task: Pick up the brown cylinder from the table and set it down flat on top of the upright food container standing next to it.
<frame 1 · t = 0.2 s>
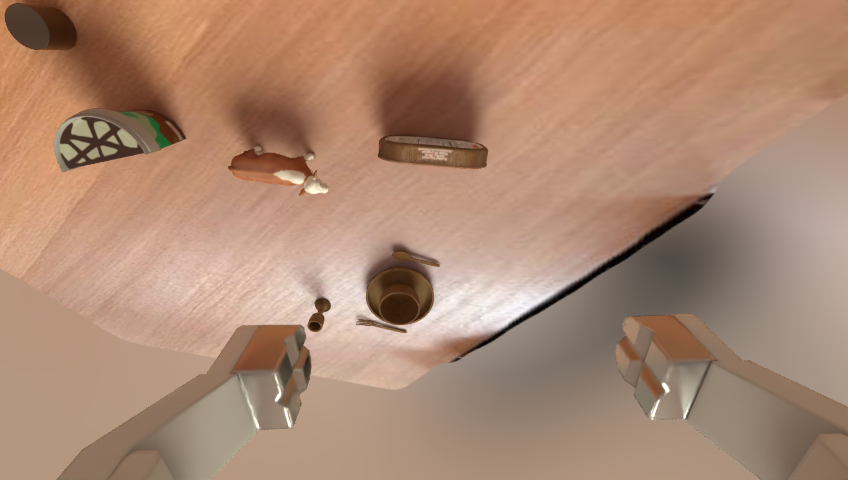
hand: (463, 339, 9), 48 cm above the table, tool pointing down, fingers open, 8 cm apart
food container: (146, 123, 53), on the table
place setting: (378, 287, 66), on the table
brown cylinder: (56, 29, 47), on the table
tin: (432, 144, 55), on the table
bull figurine: (293, 161, 56), on the table
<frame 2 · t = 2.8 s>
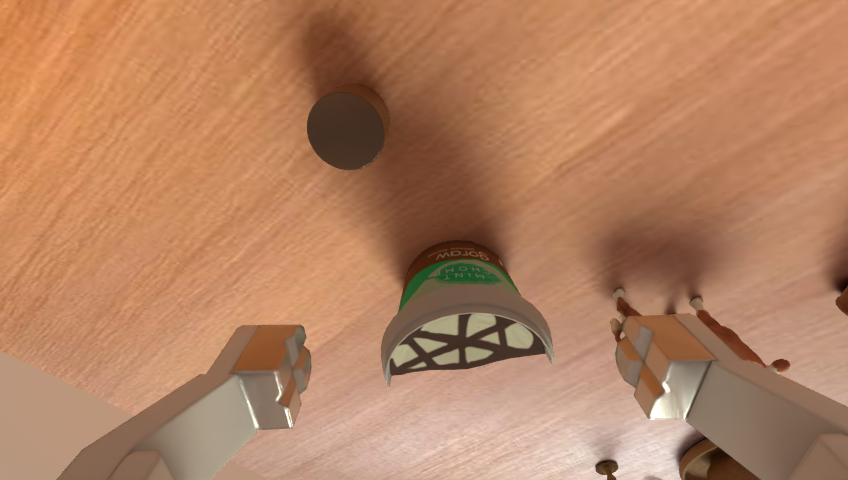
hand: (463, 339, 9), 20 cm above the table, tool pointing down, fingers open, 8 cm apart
food container: (451, 258, 32), on the table
place setting: (694, 448, 46), on the table
brown cylinder: (355, 119, 26), on the table
bull figurine: (659, 306, 35), on the table
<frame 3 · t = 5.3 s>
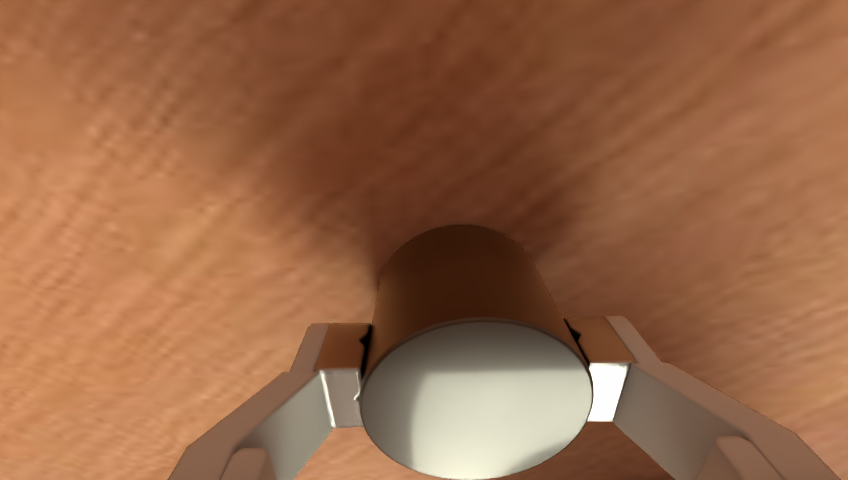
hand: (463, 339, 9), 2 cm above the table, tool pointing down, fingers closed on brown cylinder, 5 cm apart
brown cylinder: (458, 296, 11), on the table, touching gripper
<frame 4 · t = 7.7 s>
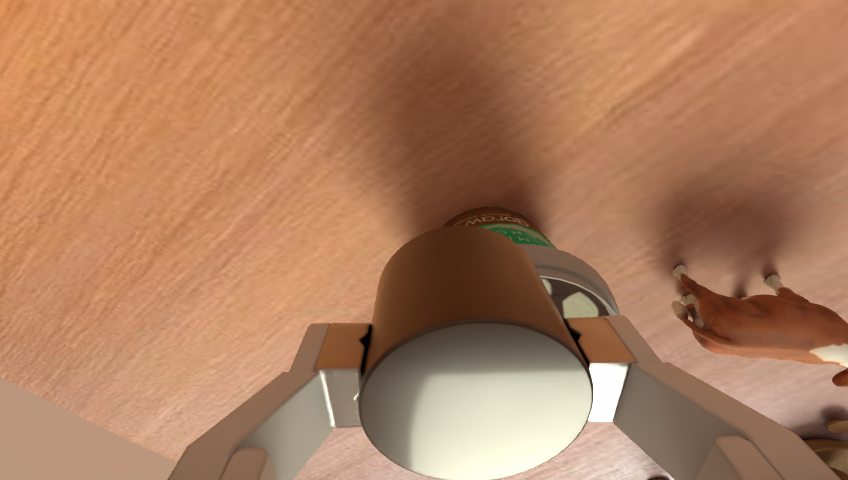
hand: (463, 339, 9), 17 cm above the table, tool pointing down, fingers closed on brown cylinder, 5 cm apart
food container: (479, 230, 27), on the table
place setting: (760, 460, 40), on the table
brown cylinder: (457, 297, 11), point 15 cm above the table, touching gripper
bull figurine: (727, 287, 30), on the table
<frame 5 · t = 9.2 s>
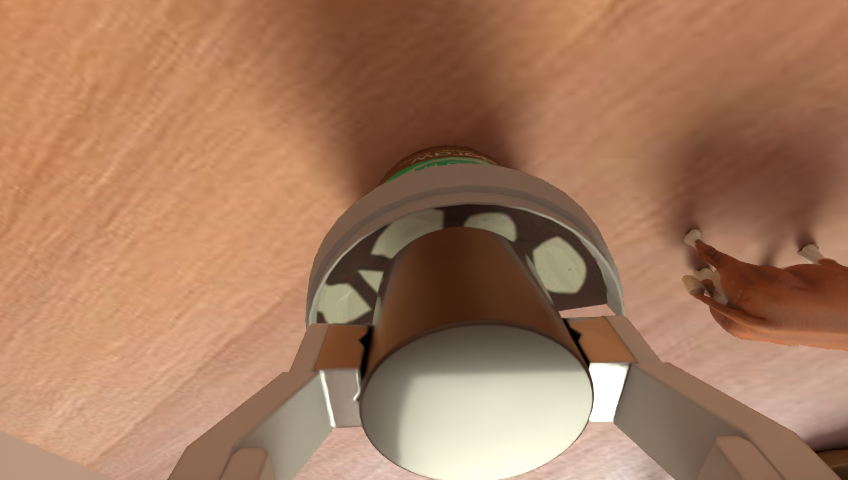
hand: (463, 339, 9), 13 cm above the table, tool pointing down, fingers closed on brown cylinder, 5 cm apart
food container: (438, 178, 21), on the table
place setting: (776, 473, 34), on the table
brown cylinder: (458, 298, 11), point 11 cm above the table, touching gripper
bull figurine: (750, 260, 24), on the table
when the fingers open (12 cm above the table, at t = 9.9 s): brown cylinder stays where it is, resting on food container.
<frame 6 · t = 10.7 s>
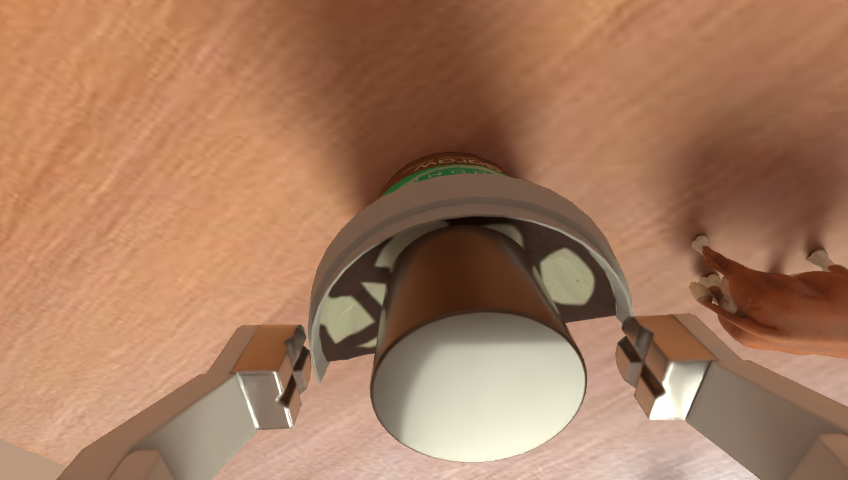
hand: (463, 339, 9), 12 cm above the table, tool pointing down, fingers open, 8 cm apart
food container: (441, 185, 21), on the table, touching brown cylinder
brown cylinder: (460, 292, 12), point 10 cm above the table, touching food container
bull figurine: (758, 266, 23), on the table
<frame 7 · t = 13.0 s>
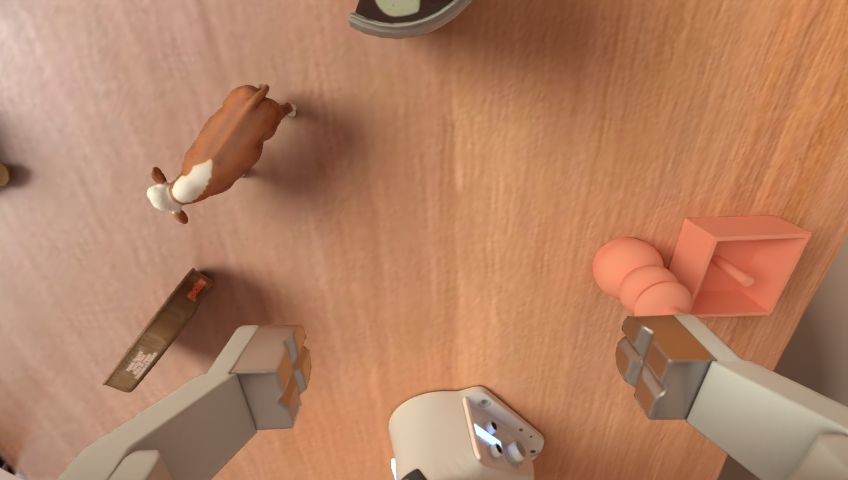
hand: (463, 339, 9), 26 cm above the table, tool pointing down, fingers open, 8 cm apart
pottery: (671, 257, 40), on the table
tin: (184, 304, 41), on the table
bull figurine: (247, 139, 33), on the table
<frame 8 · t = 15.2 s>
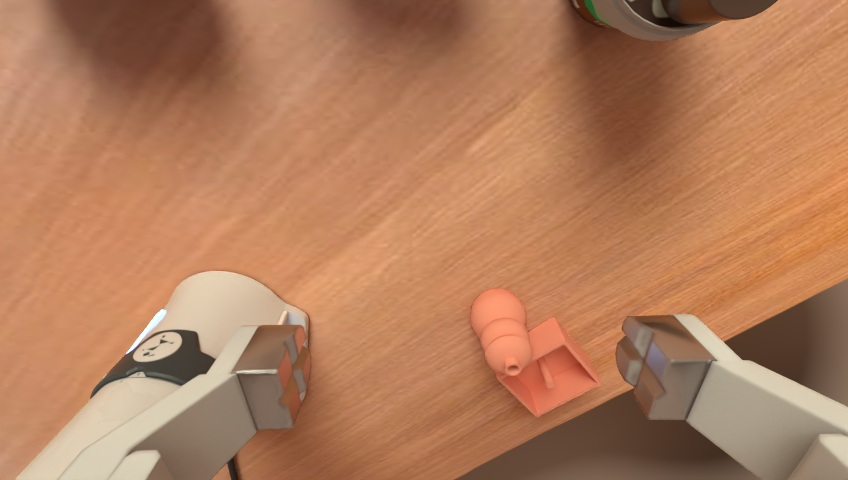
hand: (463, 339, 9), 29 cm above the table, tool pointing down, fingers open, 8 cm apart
pottery: (521, 334, 47), on the table
food container: (619, 1, 31), on the table, touching brown cylinder
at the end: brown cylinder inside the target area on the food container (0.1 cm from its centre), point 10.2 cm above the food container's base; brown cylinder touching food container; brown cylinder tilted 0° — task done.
